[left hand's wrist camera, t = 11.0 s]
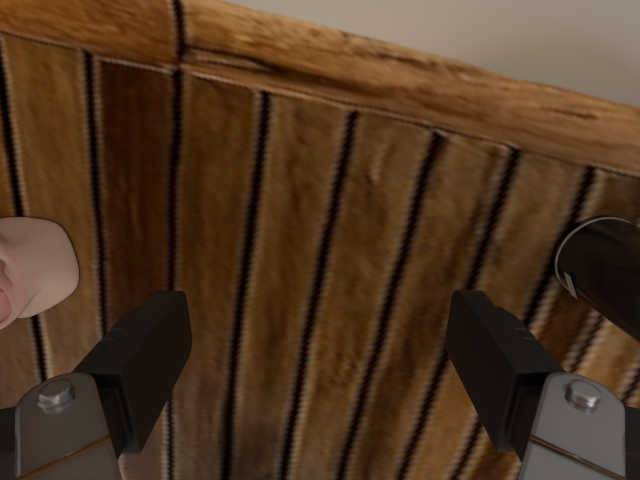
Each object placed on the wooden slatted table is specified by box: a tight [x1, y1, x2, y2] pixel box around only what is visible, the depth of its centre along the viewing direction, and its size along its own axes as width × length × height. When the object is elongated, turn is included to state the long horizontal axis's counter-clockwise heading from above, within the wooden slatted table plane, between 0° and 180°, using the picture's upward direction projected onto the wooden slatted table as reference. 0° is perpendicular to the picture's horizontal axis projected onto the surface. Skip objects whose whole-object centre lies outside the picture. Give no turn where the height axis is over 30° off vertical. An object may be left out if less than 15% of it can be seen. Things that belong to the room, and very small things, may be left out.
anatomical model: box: [0, 217, 79, 329], centre depth 41 cm, size 13×4×12 cm
